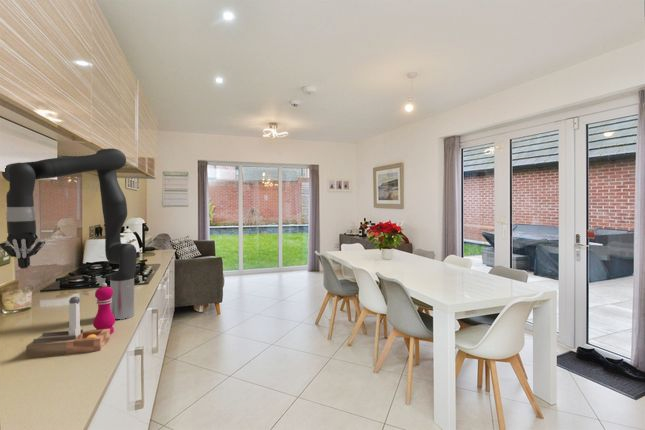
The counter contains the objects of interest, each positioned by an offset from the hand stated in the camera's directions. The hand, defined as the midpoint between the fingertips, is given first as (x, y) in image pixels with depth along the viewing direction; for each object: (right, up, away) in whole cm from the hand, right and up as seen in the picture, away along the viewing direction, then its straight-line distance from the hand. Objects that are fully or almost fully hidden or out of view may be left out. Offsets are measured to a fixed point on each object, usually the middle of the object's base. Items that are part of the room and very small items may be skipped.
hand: (24, 268), depth 115 cm
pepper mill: (+21, -28, +12) cm, 37 cm away
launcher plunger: (+19, -24, -1) cm, 31 cm away
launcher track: (+18, -28, -1) cm, 33 cm away
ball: (+24, -26, 0) cm, 35 cm away
